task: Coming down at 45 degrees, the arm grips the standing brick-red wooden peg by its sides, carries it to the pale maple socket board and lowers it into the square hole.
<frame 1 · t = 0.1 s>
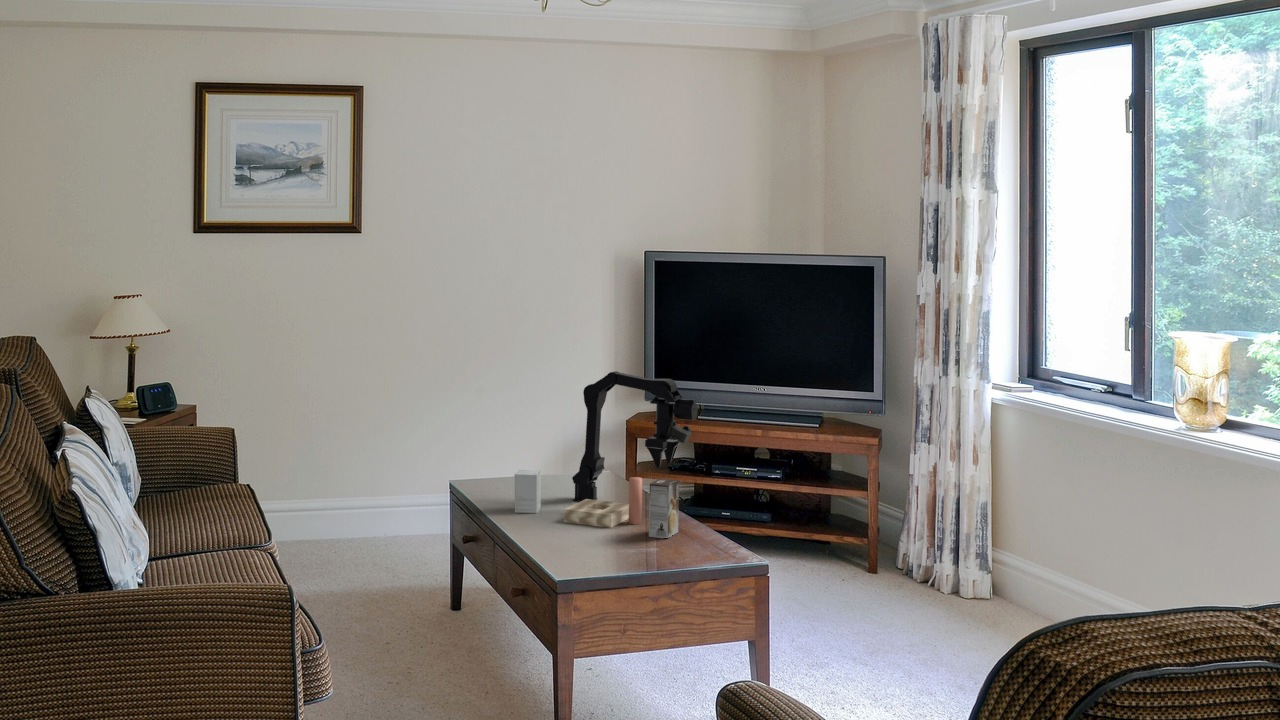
hand: (663, 465, 355), 15 cm above the table, tool pointing down, fingers open, 9 cm apart
peg: (634, 522, 338), on the table
supplement box: (527, 511, 351), on the table
coffee box: (663, 535, 325), on the table
socket board: (598, 519, 342), on the table
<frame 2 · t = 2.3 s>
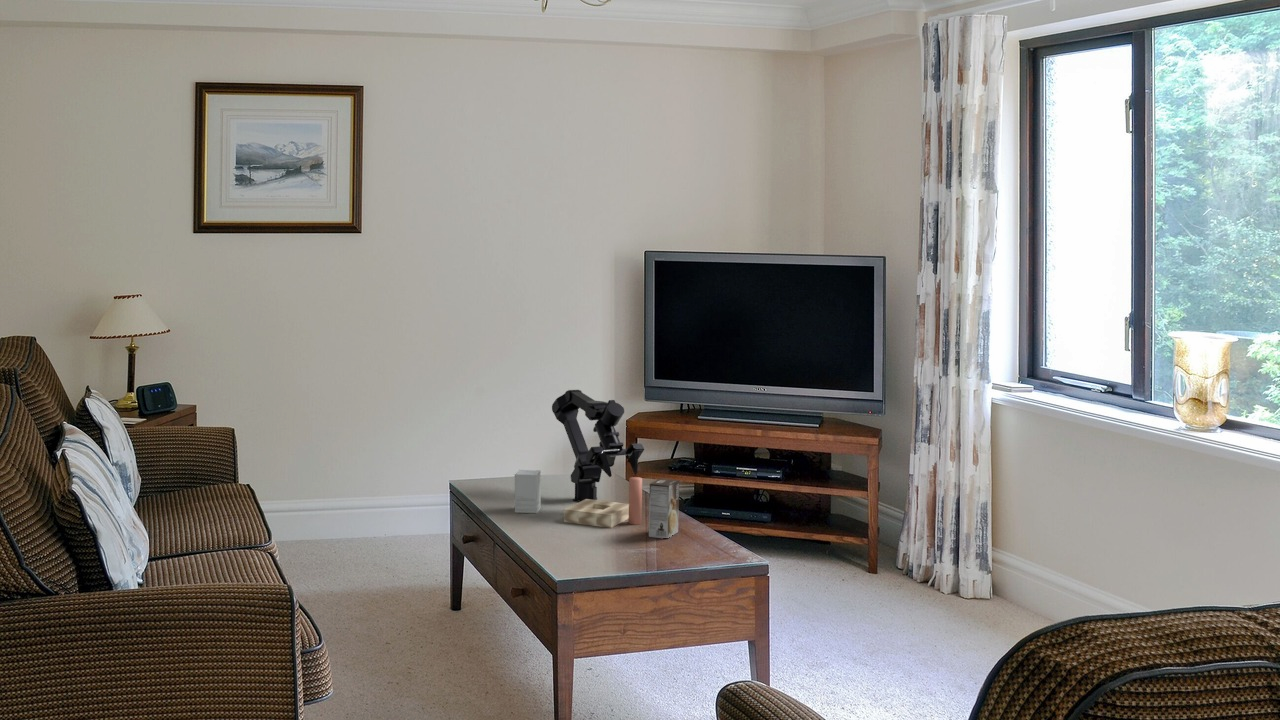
hand: (623, 475, 343), 14 cm above the table, tool tilted 45°, fingers open, 9 cm apart
nothing on the table moved.
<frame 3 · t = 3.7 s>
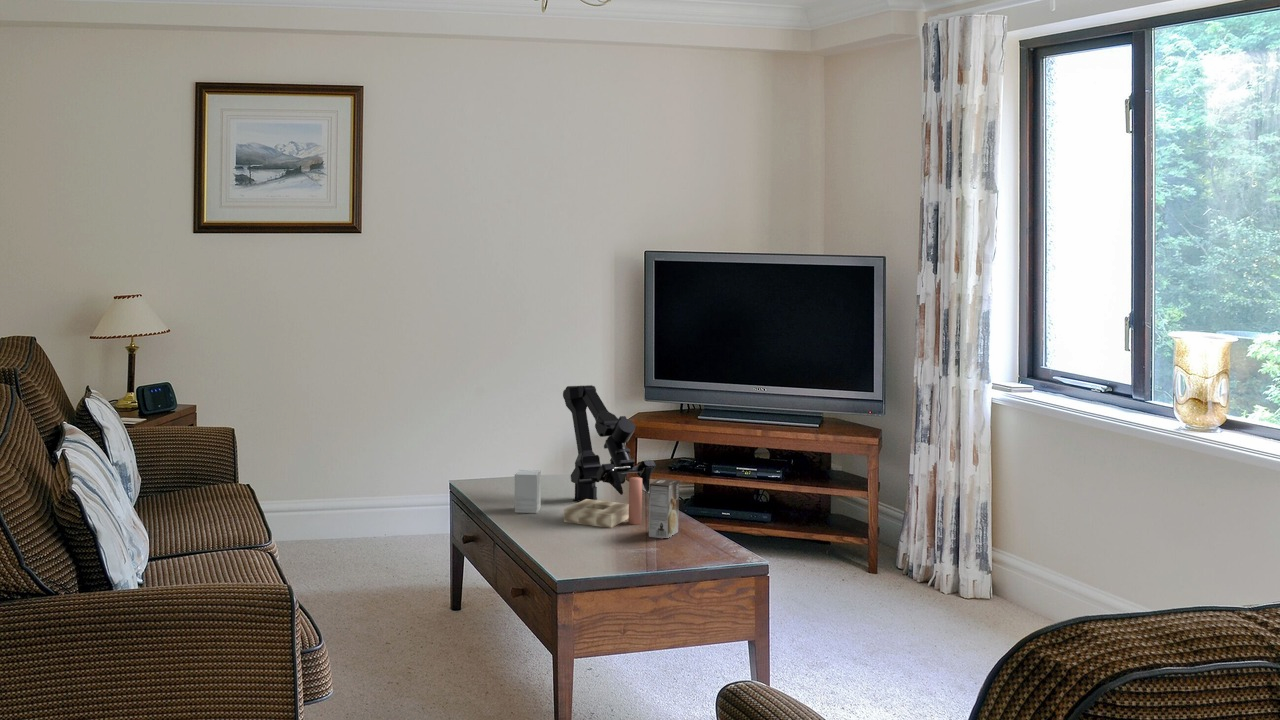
hand: (635, 492, 337), 9 cm above the table, tool tilted 45°, fingers open, 9 cm apart
nothing on the table moved.
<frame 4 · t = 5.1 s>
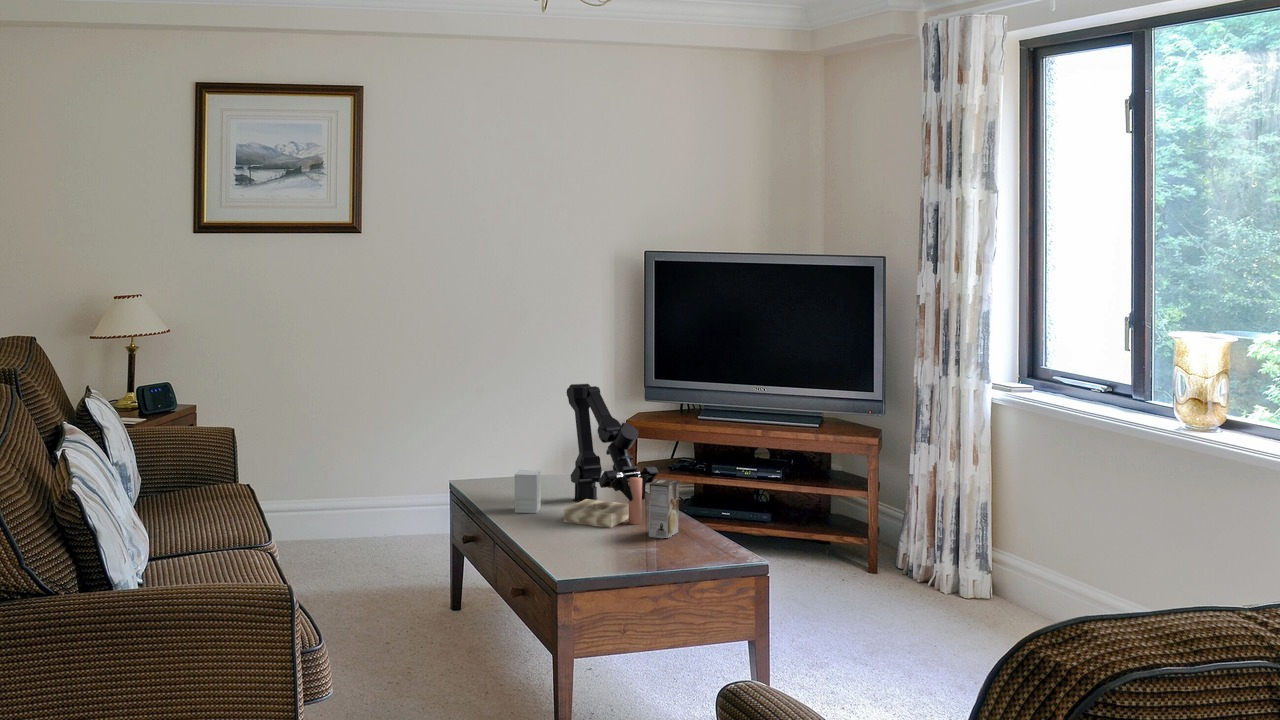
hand: (637, 499, 336), 8 cm above the table, tool tilted 45°, fingers closed on peg, 4 cm apart
peg: (634, 522, 338), on the table, touching gripper
everything else where it was.
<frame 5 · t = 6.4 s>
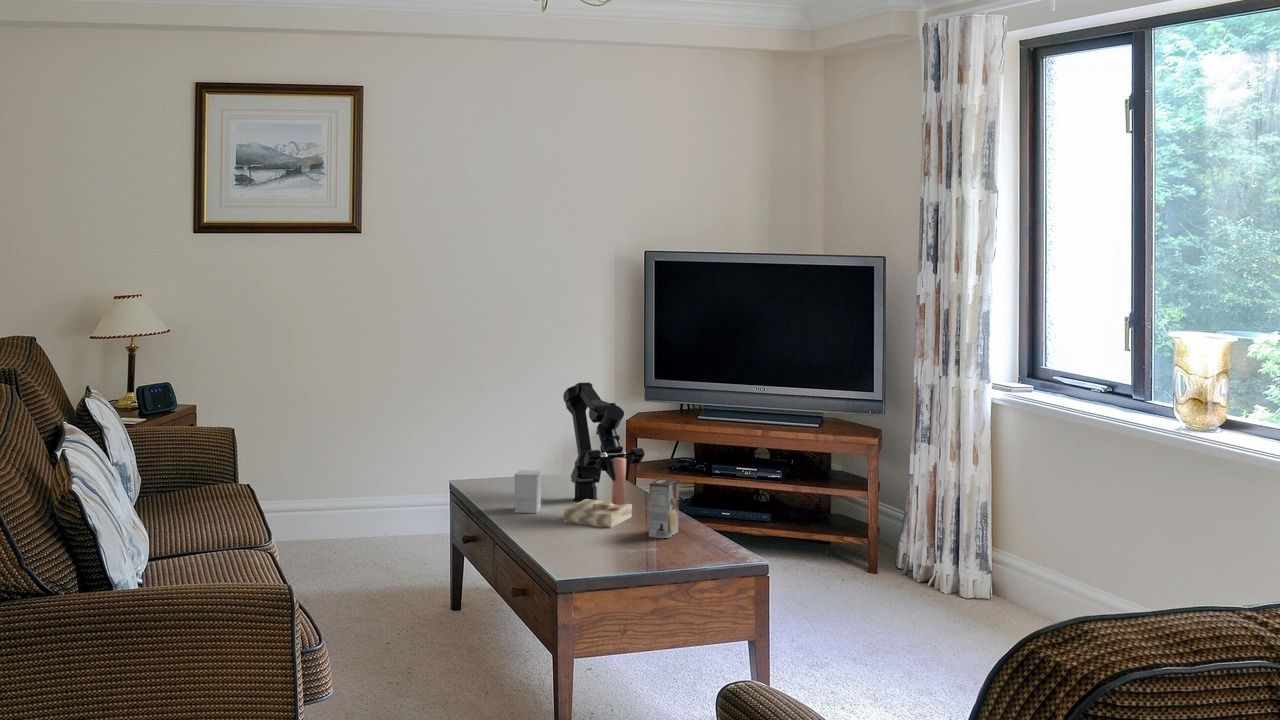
hand: (620, 480, 337), 13 cm above the table, tool tilted 45°, fingers closed on peg, 4 cm apart
peg: (618, 503, 339), point 6 cm above the table, touching gripper
everything else where it was.
when the fingers open (10 cm above the table, at t = 7.9 s): peg drops 3 cm, resting in socket board.
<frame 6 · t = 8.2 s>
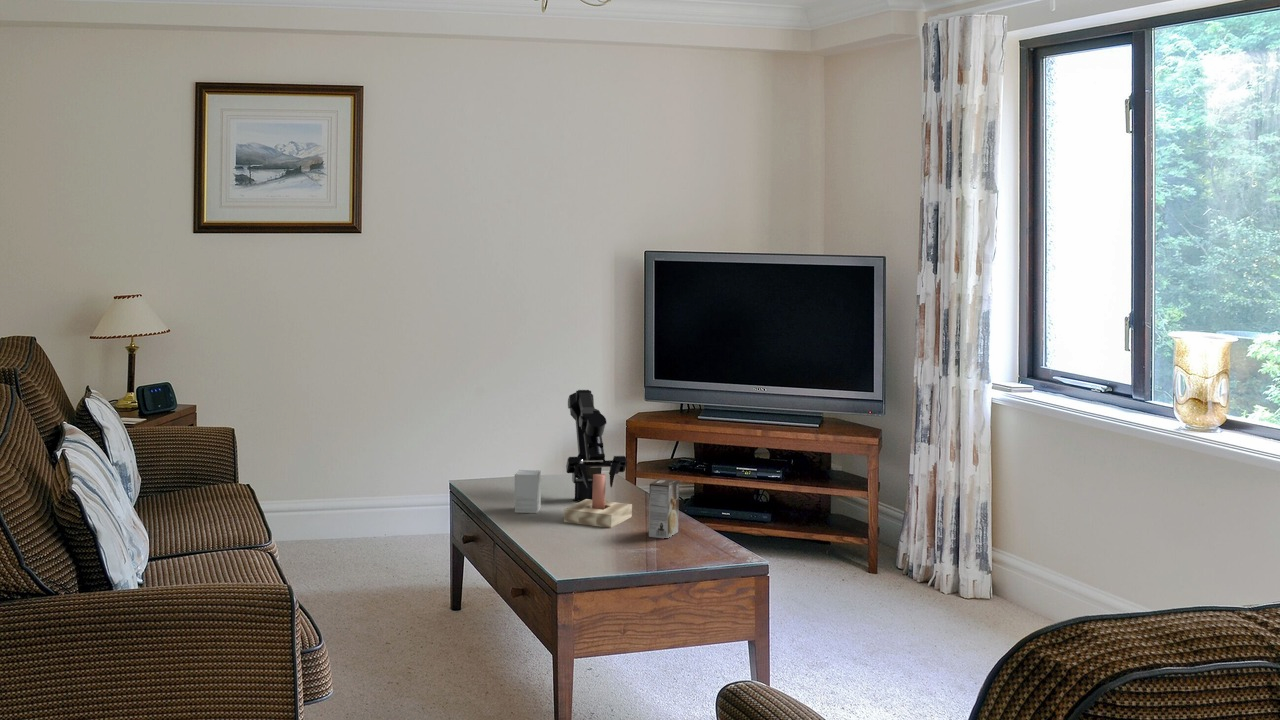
hand: (599, 487, 339), 11 cm above the table, tool tilted 45°, fingers open, 7 cm apart
peg: (598, 519, 342), resting in socket board
everything else where it was.
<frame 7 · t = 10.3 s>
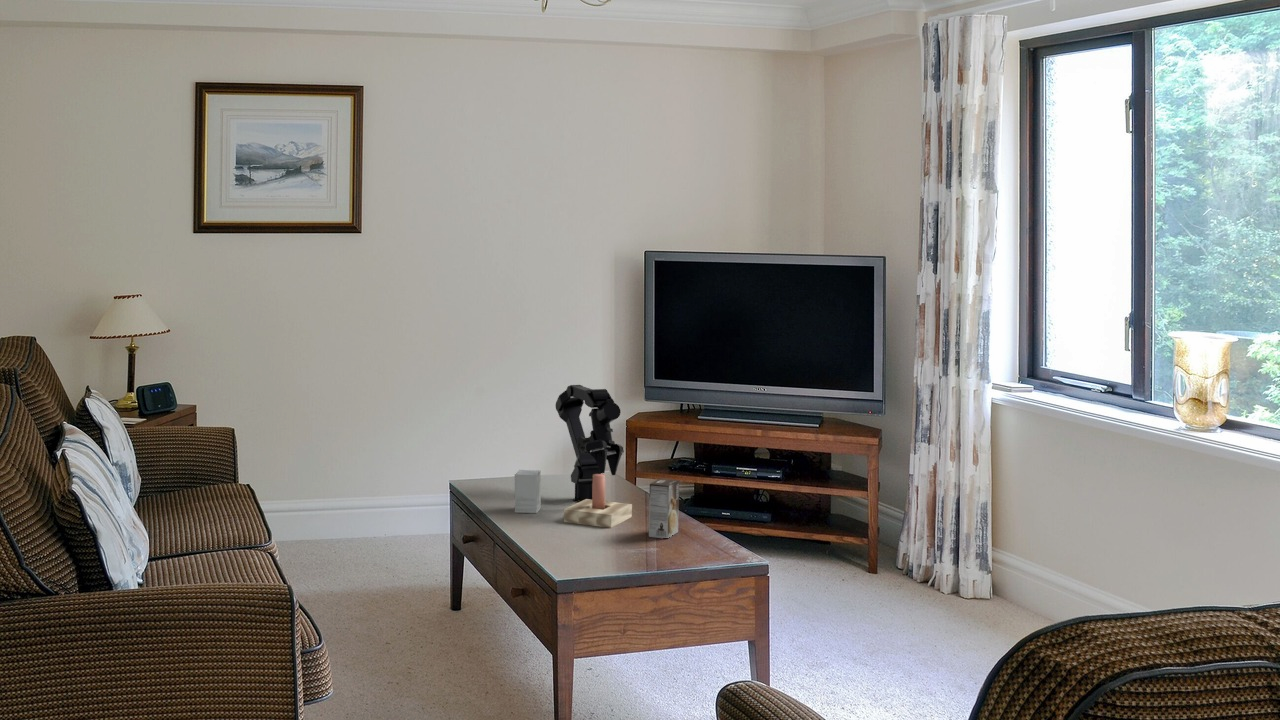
hand: (608, 474, 350), 12 cm above the table, tool tilted 20°, fingers open, 9 cm apart
nothing on the table moved.
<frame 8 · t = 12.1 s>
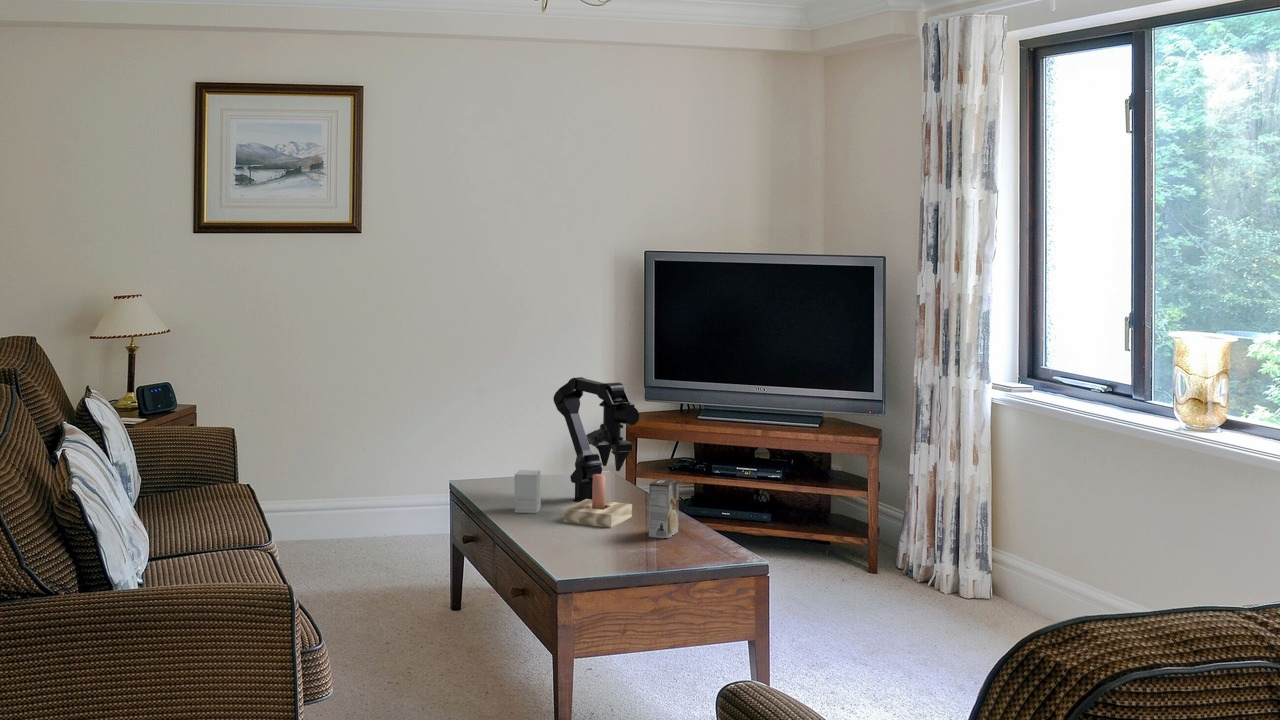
hand: (611, 468, 356), 13 cm above the table, tool pointing down, fingers open, 9 cm apart
nothing on the table moved.
at the end: peg 0.0 cm off-centre on the socket board, point 0.0 cm above the socket board's base; peg tilted 0°; the gripper is holding nothing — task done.
